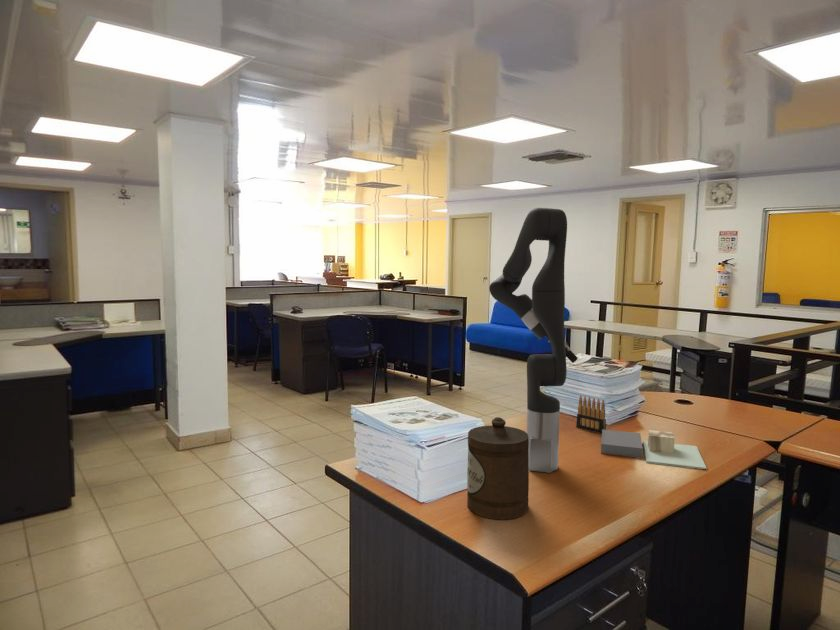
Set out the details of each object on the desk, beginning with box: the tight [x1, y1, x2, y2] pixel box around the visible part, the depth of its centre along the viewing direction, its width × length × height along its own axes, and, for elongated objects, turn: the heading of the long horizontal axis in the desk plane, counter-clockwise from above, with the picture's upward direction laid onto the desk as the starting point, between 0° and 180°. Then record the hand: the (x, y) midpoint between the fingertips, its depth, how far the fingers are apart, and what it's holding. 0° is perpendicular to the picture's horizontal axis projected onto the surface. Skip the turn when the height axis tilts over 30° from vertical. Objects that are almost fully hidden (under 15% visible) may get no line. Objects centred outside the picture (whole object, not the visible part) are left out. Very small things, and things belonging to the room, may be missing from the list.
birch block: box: [647, 429, 676, 454], centre depth 169 cm, size 6×5×7 cm
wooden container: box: [466, 416, 530, 521], centre depth 130 cm, size 15×15×22 cm
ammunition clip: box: [575, 394, 607, 435], centre depth 191 cm, size 11×2×12 cm, turn 43°
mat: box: [642, 440, 708, 470], centre depth 166 cm, size 20×16×1 cm
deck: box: [600, 429, 644, 459], centre depth 173 cm, size 16×12×3 cm
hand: (575, 360), depth 174 cm, fingers closed
